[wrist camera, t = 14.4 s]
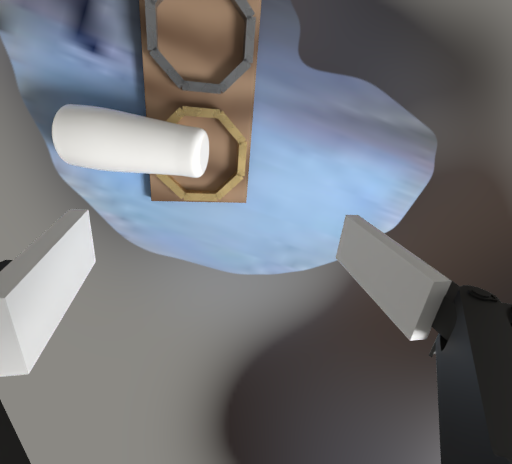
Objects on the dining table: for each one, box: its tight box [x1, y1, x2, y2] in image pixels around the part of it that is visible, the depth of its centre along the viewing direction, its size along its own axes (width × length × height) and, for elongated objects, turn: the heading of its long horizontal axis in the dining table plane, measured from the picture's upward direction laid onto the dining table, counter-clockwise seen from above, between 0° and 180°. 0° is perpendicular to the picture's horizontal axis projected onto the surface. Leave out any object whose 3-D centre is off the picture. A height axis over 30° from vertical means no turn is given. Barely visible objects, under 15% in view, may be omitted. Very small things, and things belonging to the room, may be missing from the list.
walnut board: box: [139, 0, 261, 203], centre depth 36 cm, size 26×13×1 cm, turn 175°
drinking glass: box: [52, 104, 209, 178], centre depth 32 cm, size 7×7×15 cm
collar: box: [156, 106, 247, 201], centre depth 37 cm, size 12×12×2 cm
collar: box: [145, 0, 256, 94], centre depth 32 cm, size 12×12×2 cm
